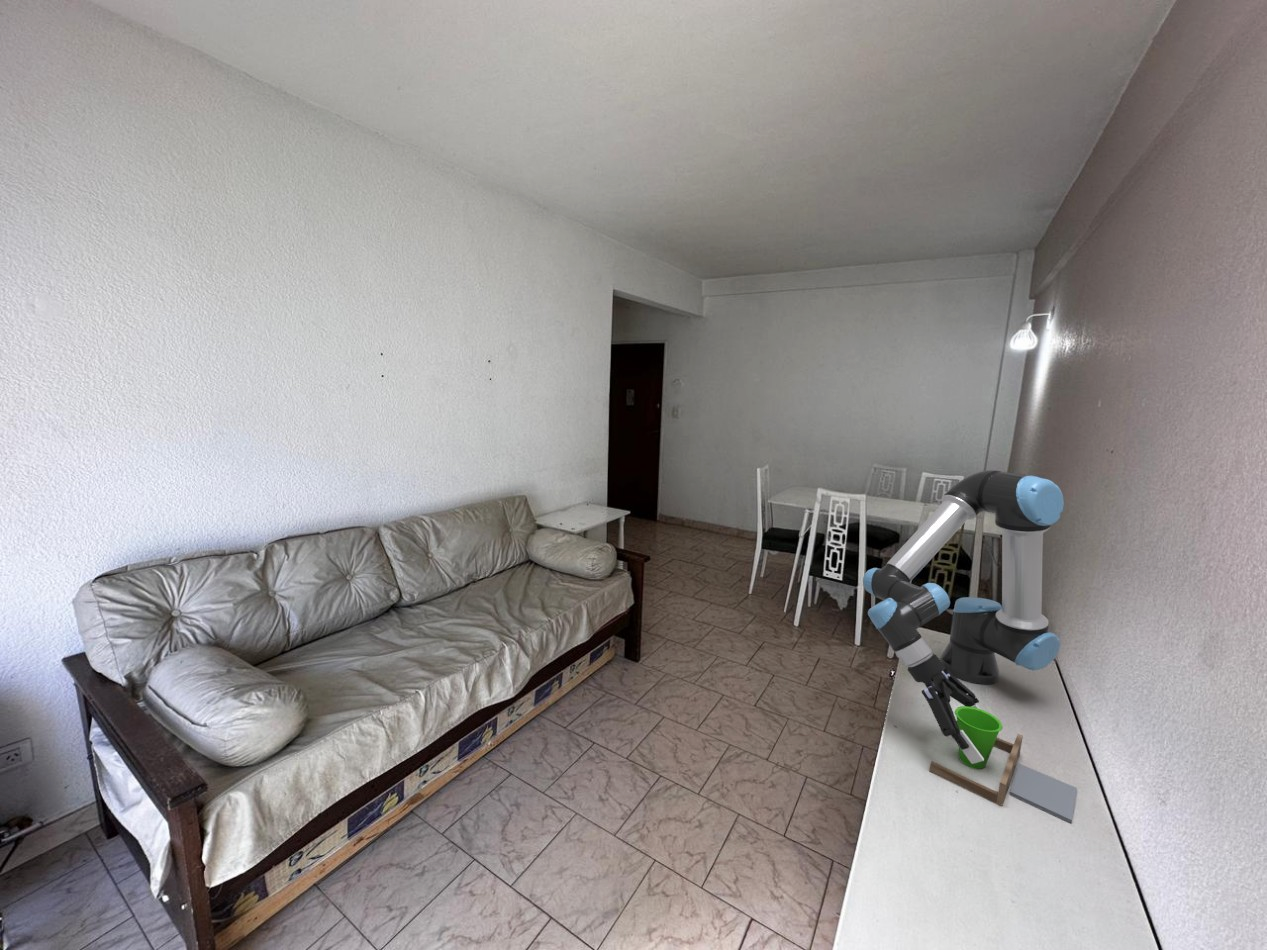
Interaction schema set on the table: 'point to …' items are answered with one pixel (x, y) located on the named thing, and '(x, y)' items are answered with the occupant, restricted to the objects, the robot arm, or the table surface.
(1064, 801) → the mat
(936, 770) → the stall
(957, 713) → the cup
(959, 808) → the table surface
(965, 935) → the table surface
